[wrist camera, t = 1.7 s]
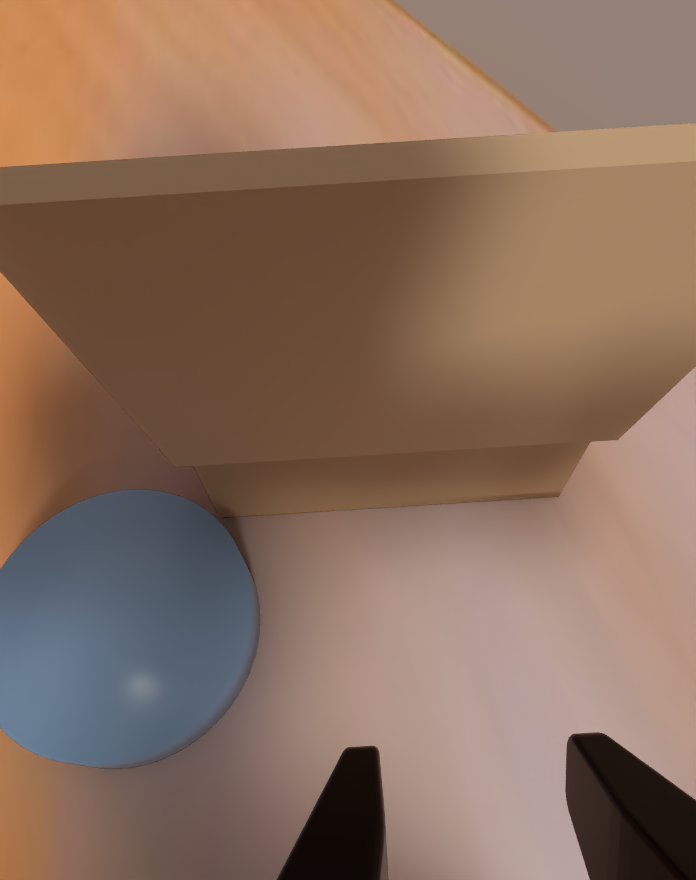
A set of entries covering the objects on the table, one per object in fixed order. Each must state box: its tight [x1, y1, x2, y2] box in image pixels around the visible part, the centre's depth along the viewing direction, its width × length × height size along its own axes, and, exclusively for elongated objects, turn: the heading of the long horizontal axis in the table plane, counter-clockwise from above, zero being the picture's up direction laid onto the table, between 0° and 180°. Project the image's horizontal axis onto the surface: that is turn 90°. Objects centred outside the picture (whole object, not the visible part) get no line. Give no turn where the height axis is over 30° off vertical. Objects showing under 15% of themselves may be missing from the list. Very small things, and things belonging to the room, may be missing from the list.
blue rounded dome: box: [0, 489, 260, 769], centre depth 19 cm, size 8×8×2 cm
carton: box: [193, 442, 590, 517], centre depth 23 cm, size 10×12×5 cm
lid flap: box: [0, 123, 696, 467], centre depth 12 cm, size 10×12×1 cm
